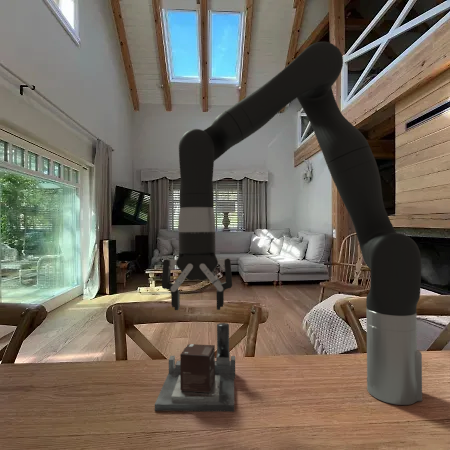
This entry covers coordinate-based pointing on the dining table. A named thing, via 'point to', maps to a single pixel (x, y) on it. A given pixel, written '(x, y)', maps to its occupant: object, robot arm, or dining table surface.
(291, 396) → the dining table surface
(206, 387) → the box
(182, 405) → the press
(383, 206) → the robot arm
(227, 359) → the lever
